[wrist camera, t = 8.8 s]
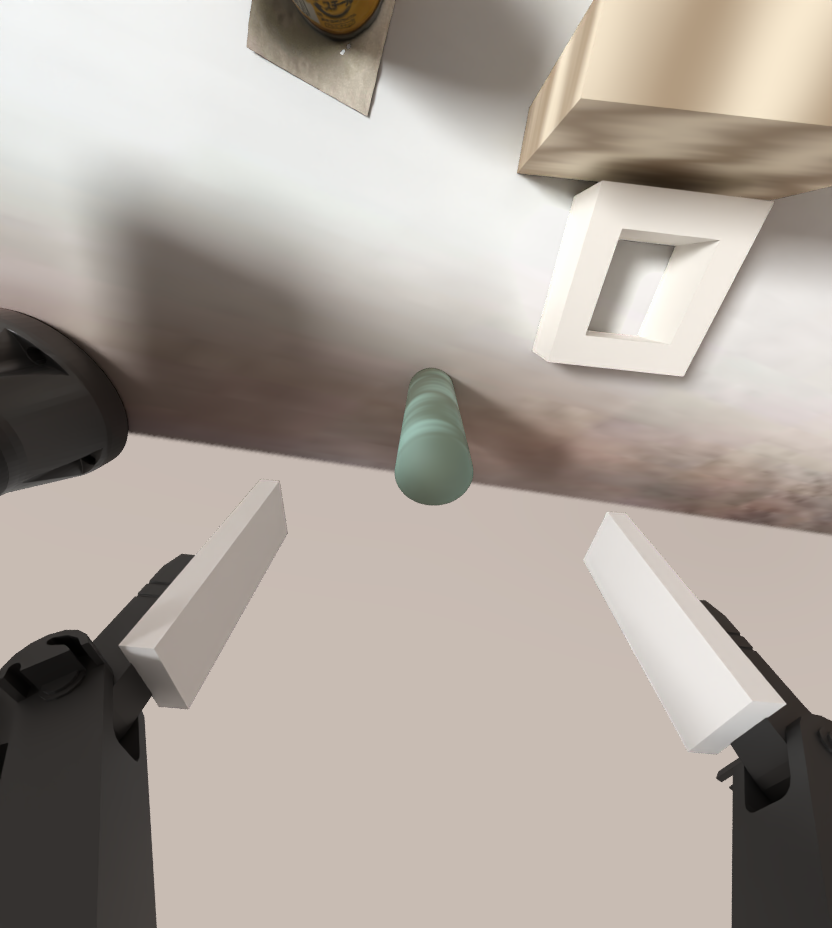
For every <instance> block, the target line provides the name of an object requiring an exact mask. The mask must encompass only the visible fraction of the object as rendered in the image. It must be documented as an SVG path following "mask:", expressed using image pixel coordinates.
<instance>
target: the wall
mask: <svg viewBox="0 0 832 928" xmlns="http://www.w3.org/2000/svg"><path fill="white" fill-rule="evenodd" d="M517 173H520V174H529V175H538V176H548V177H557V178H566V179H576V180H585V181H594V182H600V181H602V180H603V181H611V182H619V183H628V184H636V185H644V186H652V187H660V188H669V189H677V190H685V191H693V192H701V193H710V194H718V195H726V196H734V197H744V198H753V199H762V200H774V199H779V198H783V197H787V196H792V195H796V194H800V193H805V192H809V191H814V190H818V189H822V188H827V187H831V186H832V0H593V2H592V4H591V5H590V7H589V9H588V10H587V12H586V14H585V15H584V17H583V19H582V20H581V22H580V24H579V25H578V27H577V29H576V30H575V32H574V34H573V35H572V37H571V39H570V41H569V42H568V44H567V46H566V47H565V49H564V51H563V52H562V54H561V56H560V57H559V59H558V61H557V62H556V64H555V66H554V67H553V69H552V71H551V72H550V74H549V76H548V77H547V79H546V81H545V82H544V84H543V86H542V87H541V89H540V91H539V92H538V94H537V96H536V98H535V99H534V101H533V103H532V104H531V106H530V108H529V112H528V117H527V123H526V128H525V133H524V139H523V144H522V149H521V155H520V160H519V165H518V171H517Z"/></svg>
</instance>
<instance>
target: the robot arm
mask: <svg viewBox="0 0 832 928" xmlns="http://www.w3.org/2000/svg"><path fill="white" fill-rule="evenodd" d="M127 436H128V423H127V417H126V413H125V410H124V407H123V404H122V402H121V400H120V398H119V396H118V394H117V392H116V390H115V388H114V387H113V385H112V384H111V382H110V381H109V379H108V378H107V377H106V375H105V374H104V373H103V371H102V370H101V369H100V368H99V367H98V366H97V364H96V363H95V362H94V361H93V360H92V359H91V358H90V357H89V356H88V355H87V354H86V353H85V352H84V351H83V350H81V349H80V348H79V347H78V346H77V345H75V344H74V343H73V342H72V341H70V340H69V339H68V338H66V337H65V336H63V335H62V334H61V333H59V332H57V331H56V330H54V329H53V328H51V327H49V326H48V325H46V324H44V323H42V322H40V321H38V320H36V319H34V318H31V317H29V316H27V315H24V314H21V313H18V312H15V311H12V310H8V309H3V308H0V496H1V495H3V494H5V493H8V492H13V491H17V490H21V489H25V488H30V487H34V486H38V485H43V484H47V483H51V482H55V481H60V480H64V479H68V478H73V477H77V476H81V475H84V474H87V473H89V472H92V471H94V470H96V469H97V468H99V467H101V466H102V465H104V464H106V463H108V462H110V461H111V460H113V459H114V458H116V457H117V456H118V455H119V454H120V453H121V451H122V450H123V448H124V446H125V444H126V441H127ZM287 534H288V532H287V525H286V519H285V512H284V506H283V499H282V493H281V486H280V481H276V480H275V481H274V480H265V479H260V480H259V481H258V482H257V484H256V485H255V486H254V487H253V488H252V489H251V491H250V492H249V493H248V494H247V495H246V496H245V498H244V499H243V500H242V501H241V502H240V503H239V505H238V506H237V507H236V508H235V509H234V511H233V512H232V513H231V514H230V515H229V516H228V518H227V519H226V520H225V521H224V522H223V523H222V525H221V526H220V527H219V528H218V529H217V530H216V532H215V533H214V534H213V535H212V536H211V538H210V539H209V540H208V541H207V542H206V543H205V544H204V546H203V547H202V548H201V549H200V550H199V552H198V553H197V554H196V555H187V554H181V555H179V556H178V557H176V558H175V559H173V560H172V561H170V562H169V563H167V564H166V565H164V566H163V567H162V568H161V569H160V570H159V571H158V573H156V574H155V576H154V577H153V578H152V579H151V580H150V582H149V584H146V585H145V586H144V587H143V588H142V590H141V591H140V592H139V593H138V596H137V597H134V598H133V599H132V600H131V601H130V602H129V603H128V605H127V606H126V607H125V608H124V609H123V610H122V611H121V612H120V613H119V614H118V615H117V616H116V618H114V619H113V621H112V622H111V623H110V624H109V625H108V626H107V627H106V628H105V629H104V630H103V631H102V632H101V634H100V635H99V636H98V637H97V638H96V639H95V640H94V641H93V642H92V641H91V640H90V638H89V637H88V636H87V634H85V633H83V632H81V631H79V630H64V631H60V632H57V633H53V634H50V635H47V636H45V637H43V638H41V639H39V640H37V641H35V642H33V643H31V644H30V645H28V646H26V647H25V648H24V649H22V650H21V651H19V652H18V653H16V654H15V655H14V656H13V657H12V658H11V659H10V660H9V661H8V662H7V663H6V664H5V665H4V666H3V667H2V668H1V669H0V928H157V927H156V926H157V925H156V909H155V891H154V874H153V858H152V841H151V824H150V806H149V789H148V773H147V772H148V771H147V755H146V738H145V720H144V715H143V712H142V709H143V708H144V706H145V705H146V703H147V702H148V700H149V699H150V697H151V696H152V697H153V698H154V700H155V701H156V703H157V704H158V706H159V707H168V708H180V709H189V707H190V706H191V704H192V702H193V701H194V699H195V697H196V695H197V693H198V692H199V690H200V688H201V686H202V685H203V683H204V681H205V679H206V677H207V676H208V674H209V672H210V670H211V668H212V667H213V665H214V663H215V661H216V660H217V658H218V656H219V654H220V653H221V651H222V649H223V647H224V645H225V644H226V642H227V640H228V638H229V637H230V635H231V633H232V631H233V629H234V628H235V626H236V624H237V622H238V621H239V619H240V617H241V615H242V613H243V612H244V610H245V608H246V606H247V605H248V603H249V601H250V599H251V598H252V596H253V594H254V592H255V590H256V589H257V587H258V585H259V583H260V582H261V580H262V578H263V576H264V574H265V573H266V571H267V569H268V567H269V566H270V564H271V562H272V560H273V558H274V556H275V555H276V553H277V551H278V550H279V547H280V546H281V544H282V542H283V541H284V539H285V537H286V535H287ZM583 561H584V563H585V565H586V566H587V568H588V570H589V572H590V574H591V576H592V577H593V579H594V581H595V583H596V585H597V587H598V588H599V590H600V592H601V594H602V596H603V598H604V599H605V601H606V603H607V605H608V607H609V609H610V610H611V612H612V614H613V616H614V618H615V619H616V621H617V623H618V625H619V627H620V629H621V630H622V632H623V634H624V636H625V638H626V640H627V641H628V643H629V645H630V647H631V649H632V651H633V652H634V654H635V656H636V658H637V660H638V661H639V663H640V665H641V667H642V669H643V671H644V672H645V674H646V676H647V678H648V679H649V682H650V683H651V685H652V687H653V689H654V691H655V693H656V695H657V696H658V698H659V700H660V702H661V704H662V705H663V707H664V709H665V711H666V713H667V715H668V716H669V718H670V720H671V722H672V724H673V726H674V727H675V729H676V731H677V733H678V735H679V737H680V738H681V740H682V742H683V744H684V746H685V748H686V749H687V751H688V752H694V753H706V754H718V753H719V752H721V751H722V750H723V749H725V748H726V747H728V746H729V745H730V744H731V746H732V747H733V749H734V750H735V752H736V753H737V755H738V757H739V758H738V759H737V760H735V761H734V762H732V763H730V764H729V765H727V766H726V767H725V768H723V769H721V770H720V771H719V772H718V774H717V777H716V778H717V779H718V780H719V781H721V782H723V781H724V780H726V779H727V778H729V777H731V776H732V775H733V785H731V786H730V787H729V788H730V789H731V790H732V791H733V830H732V834H733V835H732V843H733V844H732V928H832V721H830V720H828V719H826V718H824V717H822V716H819V715H814V714H811V712H810V711H808V709H807V708H806V707H805V706H804V705H803V704H802V703H801V702H800V701H799V700H798V698H796V696H795V695H794V694H793V693H792V691H791V690H790V689H789V688H788V687H787V686H786V685H785V684H784V683H783V681H782V680H781V679H780V678H779V677H778V676H777V675H776V674H775V672H774V671H773V670H772V669H771V668H770V666H769V665H768V664H767V663H766V662H765V661H764V660H763V659H762V657H761V656H760V655H759V654H758V653H757V652H756V651H753V649H752V648H753V647H752V646H751V645H750V644H749V643H748V641H747V640H746V639H745V638H744V637H742V636H740V632H739V631H738V630H737V629H736V628H735V627H734V625H733V624H732V623H731V622H730V621H729V620H728V619H727V618H726V616H725V615H723V614H722V613H721V612H719V611H718V610H717V609H716V608H714V607H713V606H712V605H711V604H709V603H708V602H707V601H704V600H699V599H698V598H697V597H696V596H695V595H694V594H693V592H692V591H691V590H690V589H689V587H688V586H687V585H686V584H685V583H684V582H683V580H682V579H681V578H680V577H679V576H678V574H677V573H676V572H675V571H674V570H673V568H672V567H671V566H670V565H669V564H668V563H667V562H666V560H665V559H664V558H663V557H662V556H661V554H660V553H659V552H658V551H657V549H656V548H655V547H654V546H653V545H652V544H651V542H650V541H649V540H648V539H647V538H646V536H645V535H644V534H643V533H642V532H641V530H640V529H639V528H638V527H637V526H636V524H635V523H634V522H633V521H632V520H631V519H630V517H629V516H628V515H627V514H626V513H618V512H607V513H606V515H605V517H604V519H603V521H602V523H601V525H600V527H599V529H598V531H597V534H596V535H595V537H594V539H593V541H592V543H591V545H590V548H589V549H588V551H587V553H586V555H585V557H584V559H583Z"/></svg>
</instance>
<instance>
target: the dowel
mask: <svg viewBox="0 0 832 928" xmlns="http://www.w3.org/2000/svg"><path fill="white" fill-rule="evenodd" d="M472 478H473V465H472V461H471V457H470V452H469V448H468V444H467V440H466V436H465V432H464V428H463V424H462V420H461V416H460V411H459V407H458V403H457V399H456V395H455V391H454V387H453V383H452V381H451V379H450V377H449V376H448V375H447V374H446V373H445V372H443V371H442V370H439V369H436V368H427V369H423V370H421V371H419V372H418V373H416V374H415V375H414V377H413V378H412V380H411V382H410V384H409V389H408V395H407V401H406V407H405V412H404V418H403V424H402V430H401V436H400V442H399V448H398V454H397V459H396V465H395V479H396V482H397V484H398V487H399V488H400V489H401V491H402V492H403V493H404V494H405V495H406V496H407V497H408V498H410V499H412V500H414V501H415V502H418V503H421V504H425V505H442V504H447V503H450V502H452V501H454V500H456V499H457V498H459V497H460V496H462V495H463V494H464V493H465V492H466V490H467V489H468V488H469V486H470V484H471V482H472Z"/></svg>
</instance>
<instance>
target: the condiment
mask: <svg viewBox="0 0 832 928" xmlns="http://www.w3.org/2000/svg"><path fill="white" fill-rule="evenodd" d="M395 1H396V0H252V4H251V11H250V18H249V25H248V38H247V48H249V49H251V50H252V51H254V52H256V53H257V54H259V55H261V56H263V57H264V58H265V59H267V60H269V61H271V62H272V63H274V64H276V65H278V66H279V67H281V68H283V69H285V70H287V71H288V72H290V73H291V74H293V75H295V76H296V77H298V78H300V79H302V80H303V81H305V82H307V83H309V84H311V85H312V86H314V87H316V88H317V89H318V90H321V91H322V92H324V93H326V94H328V95H330V96H332V97H334V98H336V99H337V100H339V101H341V102H342V103H344V104H346V105H347V106H350V107H351V108H353V109H355V110H357V111H359V112H360V113H362V114H364V115H366V116H367V115H368V111H369V107H370V102H371V98H372V94H373V90H374V86H375V82H376V77H377V72H378V68H379V65H380V60H381V57H382V53H383V48H384V44H385V40H386V36H387V32H388V28H389V24H390V20H391V17H392V13H393V9H394V5H395ZM347 44H350V45H351V47H350V48H349V49H347V48H346V47H347ZM343 49H345V53H344V54H343V55H341V54H340V52H341V51H342V50H343Z"/></svg>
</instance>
